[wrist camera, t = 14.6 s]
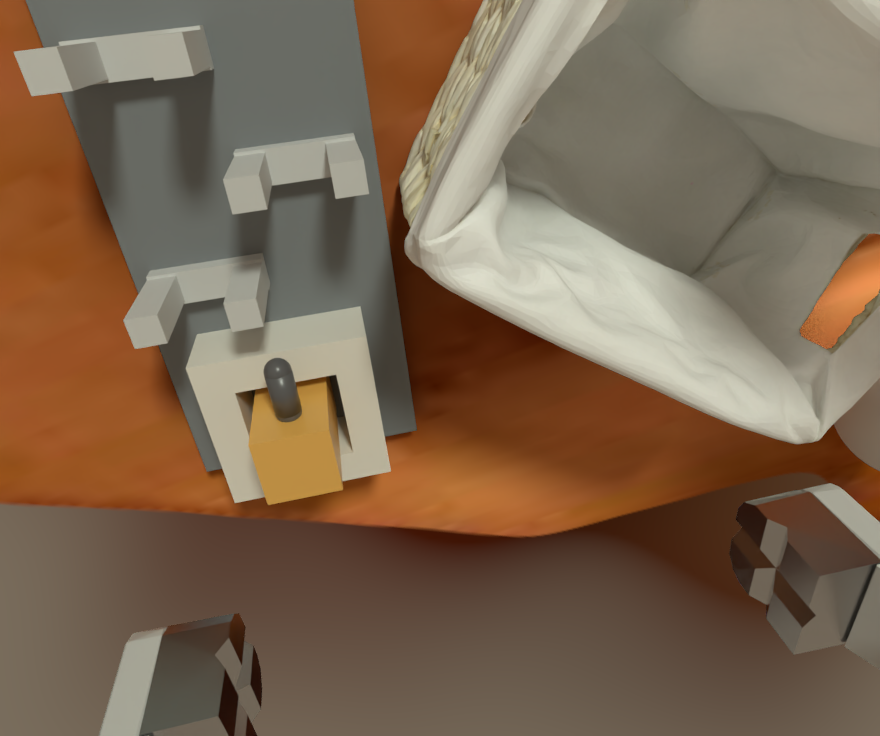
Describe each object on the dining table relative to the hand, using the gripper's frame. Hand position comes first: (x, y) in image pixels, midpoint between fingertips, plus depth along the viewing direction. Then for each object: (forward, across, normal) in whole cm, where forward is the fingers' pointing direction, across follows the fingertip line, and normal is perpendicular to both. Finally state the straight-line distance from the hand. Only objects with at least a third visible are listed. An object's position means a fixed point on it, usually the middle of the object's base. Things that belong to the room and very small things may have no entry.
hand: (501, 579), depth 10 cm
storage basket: (+29, -14, +1) cm, 32 cm away
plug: (+27, +6, +10) cm, 30 cm away
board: (+29, +6, 0) cm, 29 cm away
